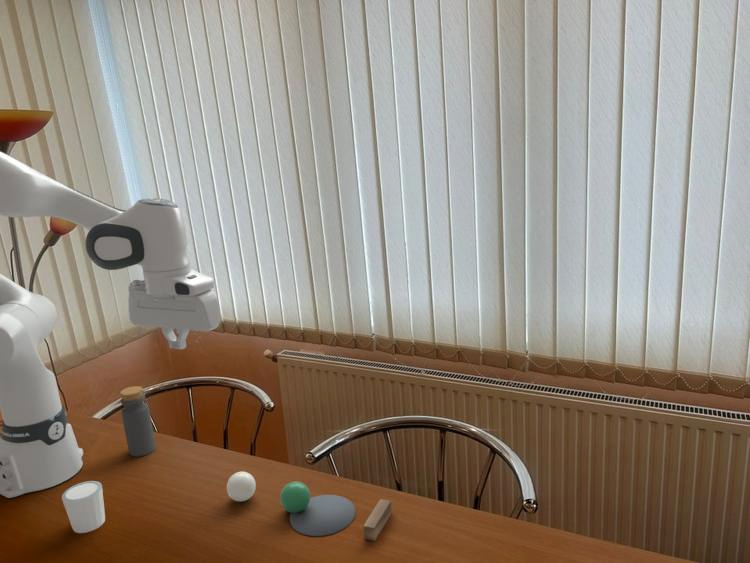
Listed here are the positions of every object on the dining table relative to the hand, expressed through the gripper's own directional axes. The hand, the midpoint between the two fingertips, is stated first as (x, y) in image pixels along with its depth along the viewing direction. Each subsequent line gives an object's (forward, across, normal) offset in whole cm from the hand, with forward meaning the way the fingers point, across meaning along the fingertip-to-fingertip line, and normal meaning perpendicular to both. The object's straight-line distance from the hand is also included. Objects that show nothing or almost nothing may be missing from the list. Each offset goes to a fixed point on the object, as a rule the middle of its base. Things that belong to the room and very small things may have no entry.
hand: (178, 348), depth 123 cm
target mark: (+27, +33, -6) cm, 43 cm away
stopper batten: (+27, +44, -6) cm, 52 cm away
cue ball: (+25, +16, -6) cm, 30 cm away
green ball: (+25, +28, -6) cm, 38 cm away
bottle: (+28, -19, +5) cm, 34 cm away
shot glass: (+29, -9, -20) cm, 36 cm away
